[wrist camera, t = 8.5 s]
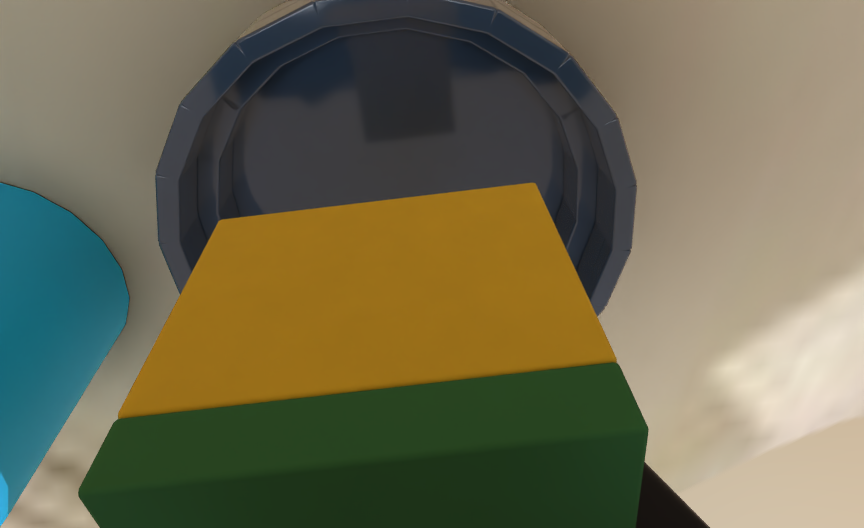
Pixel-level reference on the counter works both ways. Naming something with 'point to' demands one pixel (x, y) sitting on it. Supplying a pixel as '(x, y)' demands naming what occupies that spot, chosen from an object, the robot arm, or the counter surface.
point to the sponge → (379, 379)
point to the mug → (48, 327)
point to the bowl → (396, 125)
